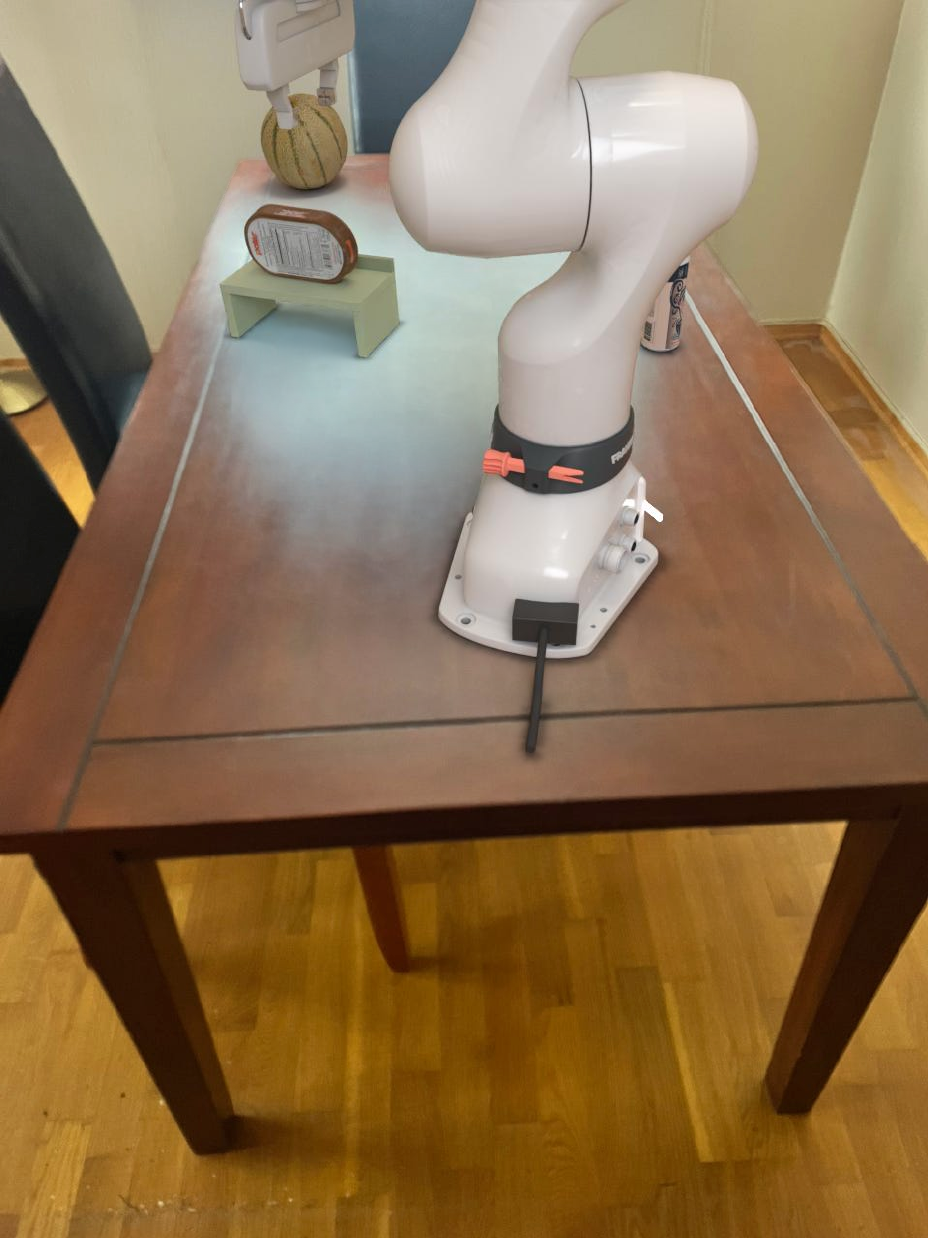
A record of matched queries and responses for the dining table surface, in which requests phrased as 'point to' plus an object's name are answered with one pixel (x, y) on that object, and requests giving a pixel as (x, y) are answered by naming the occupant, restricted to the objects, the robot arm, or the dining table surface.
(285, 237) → the tin
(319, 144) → the cantaloupe
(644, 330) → the beer can
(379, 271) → the shelf
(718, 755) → the dining table surface
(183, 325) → the dining table surface
